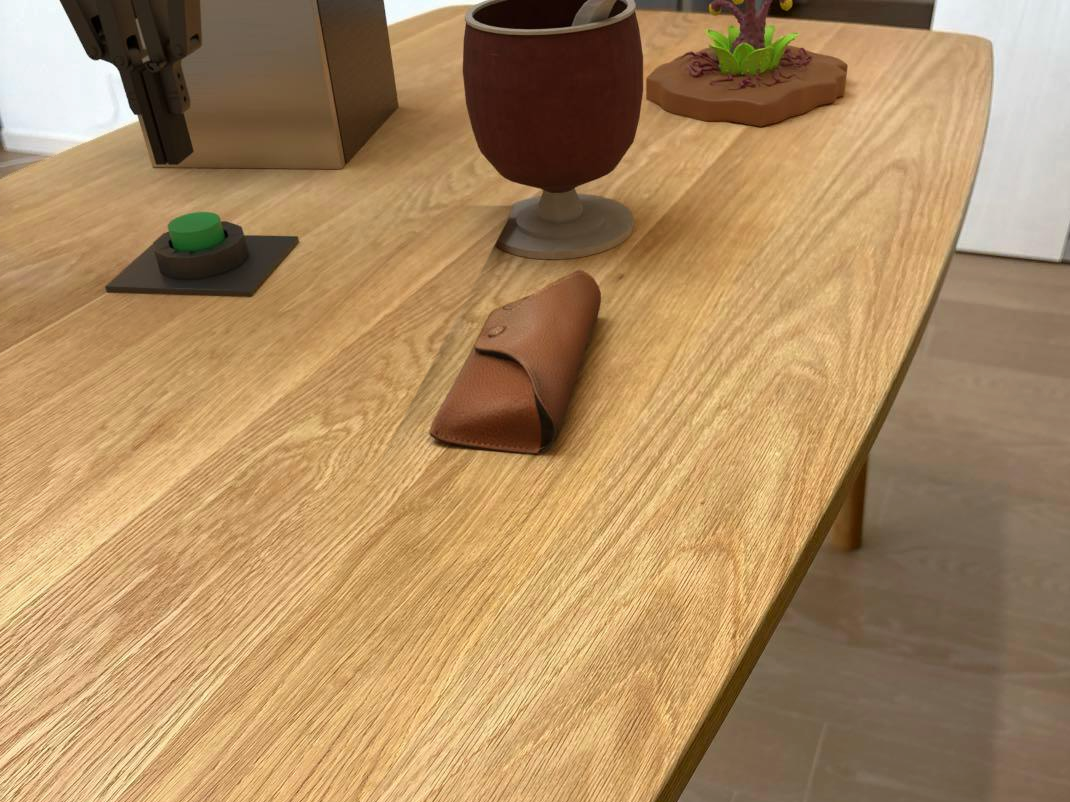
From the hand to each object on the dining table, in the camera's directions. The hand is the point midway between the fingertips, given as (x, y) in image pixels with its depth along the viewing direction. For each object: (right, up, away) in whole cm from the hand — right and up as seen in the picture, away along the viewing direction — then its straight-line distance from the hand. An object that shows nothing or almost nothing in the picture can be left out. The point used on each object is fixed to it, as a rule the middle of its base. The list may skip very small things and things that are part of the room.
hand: (175, 157), depth 79 cm
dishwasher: (0, +15, +35) cm, 38 cm away
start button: (+1, -5, +4) cm, 7 cm away
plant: (+49, +20, +36) cm, 64 cm away
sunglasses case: (+26, -18, -8) cm, 32 cm away
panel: (+1, -8, +6) cm, 10 cm away
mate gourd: (+29, -3, +11) cm, 31 cm away
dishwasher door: (-3, +7, +25) cm, 27 cm away
